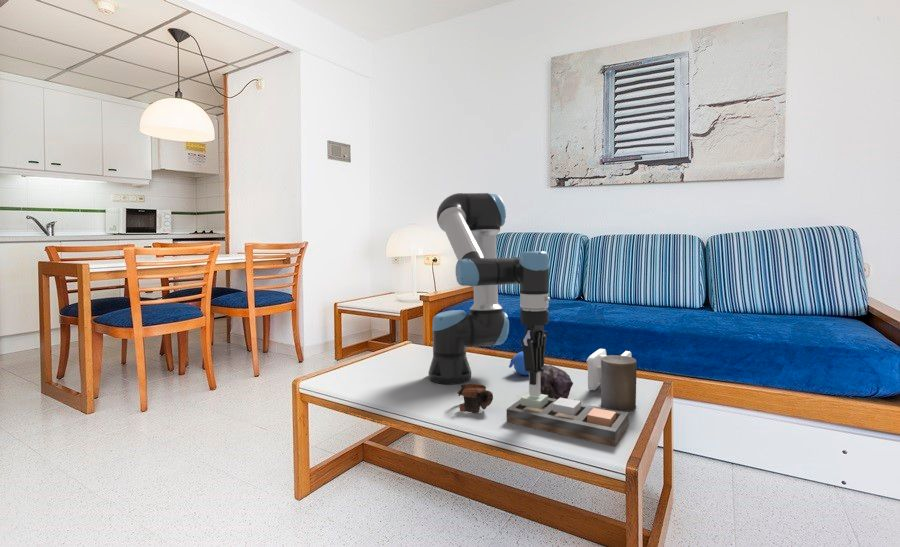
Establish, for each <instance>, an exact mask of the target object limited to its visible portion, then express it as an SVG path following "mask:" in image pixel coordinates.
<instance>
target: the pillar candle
mask: <svg viewBox="0 0 900 547" xmlns="http://www.w3.org/2000/svg"><path fill="white" fill-rule="evenodd" d="M621 355H622V354H619V355H617V354H616V355H614V354H612V355H611V354H610V355H606V356H604V357H602V358H601V385H600V405H601V407H602V408H607V409H613V410H618V411H624V412H631V411H634V410H636V409H637V359H636V358H634V357H632V356H631V357H628V356H621Z"/></svg>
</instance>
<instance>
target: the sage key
mask: <svg viewBox="0 0 900 547" xmlns="http://www.w3.org/2000/svg"><path fill="white" fill-rule="evenodd" d="M520 399H521V405H523V406H528V407H533V408H538V409H541V408H542V407H543V406H544V405H546V404H547V403H548V395H544V394H541V395H540V396H539V397H537V396H531V395H529V391H528V392H527V393H525V394H524V395H523V396H521V397H520Z"/></svg>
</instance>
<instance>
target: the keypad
mask: <svg viewBox="0 0 900 547" xmlns="http://www.w3.org/2000/svg"><path fill="white" fill-rule="evenodd" d="M557 400H558V399H555V398H548V403H547V404H546V405H544V406H543V407H542V408H541V409H538V408H533V407H528V406H523V405H521V398H519V400H517V401H516V402H514V403H513V404H511V405H510V406H509V407H507V408H506V423H511V424H514V425H518V426H523V427H527V428H532V429H537V430H542V431H546V432H551V433H553V434H558V435H564V436H567V437H572V438H576V439H581V440H585V441H588V442H589V441H590V442H594V443H598V444H603V445H607V446H611V447H616V446H617V444H618V443H619V441H620V440H621V438H622V437H623V435H624V434H625V432H626V430H627V429H628V427H629V425H630V420H629V418H630V411H618V410H613V409H607V408H605V407H603V406H596V405H590V404H587V403H586V404H585V403H581V409H580V410H579V411H578V412H577V413H576V414H575V415H574V416H573V415H568V414H563V413H558V412H553V403H554V402H555V401H557ZM593 408H598V409H603V410H608V411H614V412H616V420H615V422H614V423H613V424H612V426H611V427H606V426H601V425H597V424H592V423H587V415H588V413H589V412H590V411H591V410H592V409H593Z"/></svg>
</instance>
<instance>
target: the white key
mask: <svg viewBox="0 0 900 547" xmlns="http://www.w3.org/2000/svg"><path fill="white" fill-rule="evenodd" d="M581 402H582V400H576V399H571V398H568V399H566V398H559V399H558V400H557V401H555V402H554V403H553V412H558V413H563V414H568V415H573V416H574V415H575V414H576V413H577V412H578V411H579V410H580V409H581V404H582V403H581Z"/></svg>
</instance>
